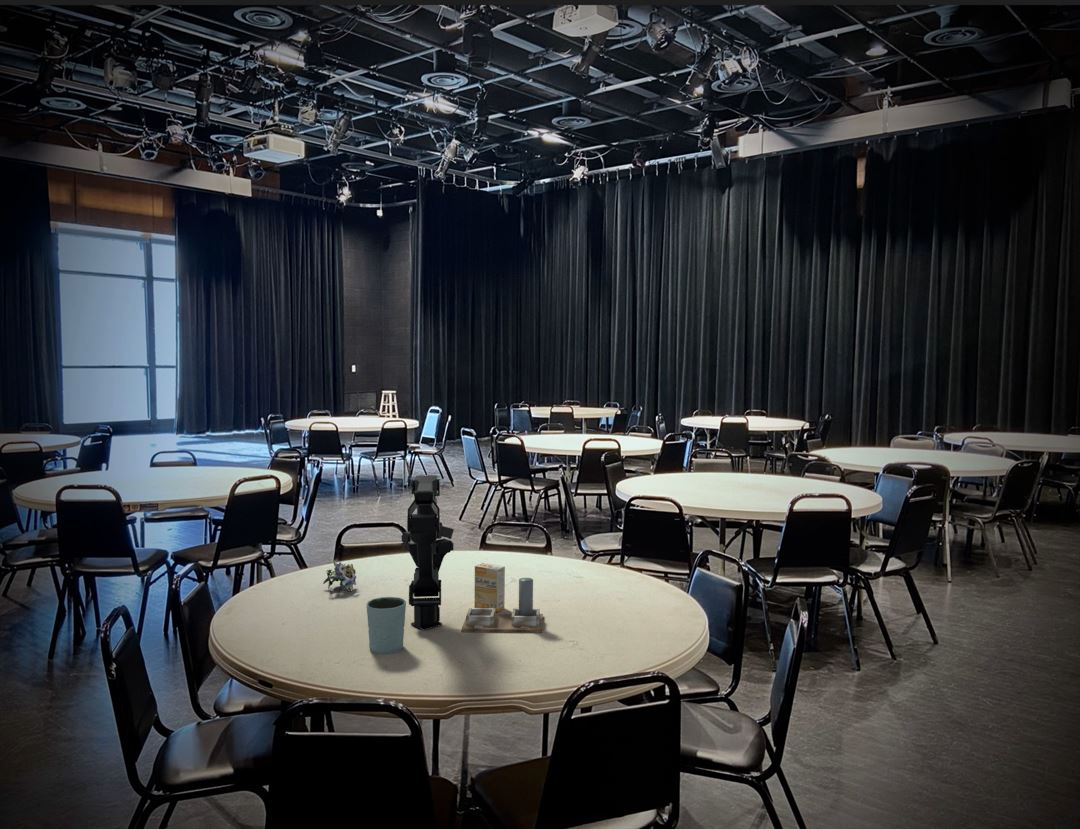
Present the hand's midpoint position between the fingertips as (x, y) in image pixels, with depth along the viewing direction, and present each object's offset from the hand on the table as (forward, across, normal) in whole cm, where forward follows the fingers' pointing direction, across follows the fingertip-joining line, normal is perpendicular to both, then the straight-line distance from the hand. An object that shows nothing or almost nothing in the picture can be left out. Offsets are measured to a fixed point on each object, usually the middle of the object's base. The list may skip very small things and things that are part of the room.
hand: (427, 569), depth 232 cm
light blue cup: (+12, -17, +25) cm, 33 cm away
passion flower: (+14, +40, +7) cm, 43 cm away
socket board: (+12, -23, -10) cm, 28 cm away
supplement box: (+13, -9, -16) cm, 23 cm away
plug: (+12, -28, -14) cm, 33 cm away
